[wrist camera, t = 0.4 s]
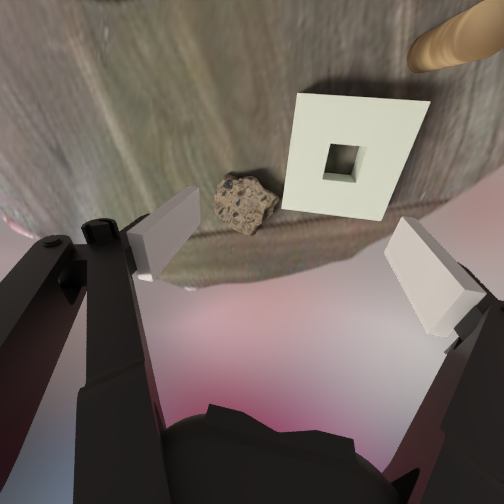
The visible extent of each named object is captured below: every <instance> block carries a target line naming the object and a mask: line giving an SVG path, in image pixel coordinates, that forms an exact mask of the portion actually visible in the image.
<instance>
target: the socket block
mask: <svg viewBox="0 0 504 504" xmlns="http://www.w3.org/2000/svg"><path fill="white" fill-rule="evenodd" d="M429 105H430V101H415V100H400V99H384V98H369V97H353V96H338V95H323V94H307V93H297V100H296V107H295V114H294V121H293V129H292V136H291V143H290V150H289V157H288V165H287V172H286V179H285V186H284V193H283V201H282V208H281V209H288V210H296V211H304V212H312V213H320V214H328V215H336V216H344V217H352V218H360V219H368V220H376V221H381V220H382V218H383V215H384V213H385V210H386V208H387V206H388V203H389V201H390V198H391V196H392V194H393V191H394V189H395V186H396V184H397V182H398V179H399V177H400V174H401V172H402V170H403V167H404V165H405V162H406V160H407V158H408V155H409V153H410V150H411V148H412V146H413V143H414V141H415V138H416V136H417V134H418V131H419V129H420V126H421V124H422V122H423V119H424V117H425V114H426V112H427V110H428V107H429ZM330 143H331V144H342V145H353V146H359V150H358V153H357V156H356V160H355V163H354V166H353V170H352V173H351V175H346V174H336V173H326V172H324V169H325V165H326V160H327V156H328V152H329V147H330Z"/></svg>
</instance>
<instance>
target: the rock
mask: <svg viewBox="0 0 504 504" xmlns="http://www.w3.org/2000/svg"><path fill="white" fill-rule="evenodd" d="M279 200H280V199H279V197H278V196H277V195H276V194H275V193H273V192H271V191H269V190H267V189H265V188H263V187H262V186H261V185H260V183H259V182H258V180H257V179H256V178H254V177H253V176H245V177H241V178H237V177H234V176H232V175H230V174H226V175H225V176H224V178H223V180H222V182H221V183H219V184H218V185H217V190H216V193H215V196H214V210H215V212H216V214H217V216H218V217H219V218H220V219H221V220H222V221H223V222H224V223H226V224H227V225H229V226H230V227H231V228H232V229H234V230H235V231H238V232H241V233H244V234H245V235H247V236H253V235H254V234H255V233H256V231H257V227H258V226H259V225H260V224H262V223H263V222H264V221H265V220H267V219H269V217H270V216H271V215H272V214H273V208H274V206H275V205H276V204H277V203H278V202H279Z"/></svg>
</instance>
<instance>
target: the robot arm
mask: <svg viewBox="0 0 504 504" xmlns="http://www.w3.org/2000/svg"><path fill="white" fill-rule="evenodd" d="M200 224H201V219H200V202H199V187H193V186H187V187H186V188H184V189H183V190H182V191H180V192H179V193H178V194H176V195H175V196H174V197H172V198H171V199H170V200H168V201H167V202H166V203H164V204H163V205H162V206H160V207H159V208H158V209H156V210H155V211H154V212H152V213H151V214H146V215H143V216H141V217H139V218H138V219H136V220H135V221H134V222H132V223H131V224H129V225H128V226H126V227H125V228H124V229H122V230H121V231H120V232H119V230H118V227H117V223H116V221H115V220H113V219H108V218H101V219H95V220H91V221H88V222H86V223H85V224H83V225H82V227H81V229H82V232H83V234H84V237H85V239H86V242H87V244H74V245H73V242H72V240H71V238H70V237H69V236H66V235H51V236H49V237H48V236H47V237H44V238H43V239H41V240H39V241H37V242H36V243H35V244H34V245H33V246H32V247H31V248H30V249H29V250H28V252H27V253H26V254H25V255H24V256H23V257H22V258H21V260H20V261H19V262H18V263H17V264H16V265H15V266H14V268H13V269H12V270H11V271H10V272H9V273H8V274H7V276H6V277H5V278H4V279H3V280H2V281H1V282H0V492H1V490H2V488H3V487H4V485H5V483H6V481H7V479H8V477H9V474H10V472H11V470H12V468H13V466H14V464H15V462H16V460H17V457H18V455H19V453H20V450H21V448H22V446H23V443H24V441H25V438H26V436H27V434H28V431H29V429H30V426H31V424H32V422H33V419H34V417H35V414H36V412H37V409H38V407H39V405H40V402H41V400H42V397H43V395H44V393H45V390H46V388H47V385H48V383H49V381H50V378H51V376H52V373H53V371H54V368H55V366H56V364H57V361H58V359H59V356H60V354H61V352H62V349H63V347H64V344H65V342H66V340H67V337H68V335H69V332H70V330H71V328H72V325H73V323H74V320H75V318H76V316H77V313H78V311H79V308H80V306H81V304H82V301H83V299H84V296H85V294H86V291H87V348H86V351H87V352H86V384H85V387H82V388H80V390H79V392H78V397H77V412H76V439H75V465H74V491H73V492H74V493H73V504H504V301H501V300H498V299H497V298H496V297H495V296H494V295H493V294H492V293H491V292H490V291H489V290H488V289H487V288H486V287H485V286H484V285H483V284H482V283H480V281H479V280H478V279H477V278H476V277H475V276H474V275H473V274H472V273H471V272H470V271H469V270H468V269H467V268H466V267H464V266H463V265H461V264H460V263H458V262H456V260H455V259H454V258H453V257H452V256H451V255H450V254H449V253H448V252H447V251H446V250H445V249H444V248H443V247H442V246H441V245H440V244H439V243H438V242H437V241H436V240H435V238H434V237H432V235H431V234H430V233H429V232H428V231H427V230H426V229H425V228H424V227H423V226H422V225H421V224H420V223H419V222H418V221H417V220H416V218H411V217H404V216H402V217H401V219H400V221H399V223H398V225H397V227H396V229H395V231H394V233H393V235H392V237H391V239H390V242H389V243H388V246H387V247H386V249H385V251H384V254H385V256H386V258H387V260H388V262H389V263H390V265H391V267H392V269H393V271H394V273H395V274H396V277H397V278H398V280H399V282H400V284H401V286H402V288H403V289H404V292H405V293H406V295H407V297H408V299H409V301H410V303H411V305H412V307H413V308H414V310H415V312H416V314H417V316H418V318H419V320H420V322H421V323H422V325H423V327H424V329H425V331H426V333H427V334H428V335H432V336H438V337H443V338H446V337H447V336H448V335H449V334H450V333H451V332H452V331H453V330H455V331H456V333H457V334H458V336H459V337H458V338H457V339H456V340H455V342H454V343H453V344H452V345H451V346H450V347H449V348H448V349H447V350H446V351H445V352H444V353H446V354H447V356H446V358H445V360H444V362H443V364H442V366H441V367H440V369H439V371H438V373H437V375H436V377H435V379H434V381H433V383H432V385H431V387H430V389H429V390H428V392H427V394H426V396H425V398H424V400H423V402H422V404H421V405H420V407H419V409H418V411H417V413H416V415H415V417H414V419H413V421H412V423H411V425H410V426H409V428H408V430H407V432H406V434H405V436H404V438H403V440H402V442H401V444H400V445H399V447H398V449H397V451H396V453H395V455H394V457H393V459H392V460H391V462H390V464H389V465H388V466H387V468H386V469H385V470H384V471H383V472H382V473H381V472H380V471H379V470H378V469H377V468H375V467H374V466H373V465H372V464H371V463H370V462H369V461H367V460H366V459H364V458H363V457H362V456H361V455H359V454H357V453H356V452H355V447H354V440H353V439H350V438H346V437H342V436H338V435H334V434H330V433H326V432H322V431H318V430H310V431H298V432H297V431H296V432H276V431H274V430H273V429H271V428H269V427H267V426H266V425H264V424H262V423H261V422H259V421H257V420H256V419H254V418H252V417H251V416H249V415H247V414H245V413H244V412H241V411H236V410H233V409H229V408H225V407H221V406H216V405H212V404H209V407H208V410H207V413H206V414H199V415H194V416H191V417H188V418H185V419H183V420H181V421H179V422H177V423H175V424H173V425H171V426H170V427H168V428H166V424H165V420H164V416H163V413H162V409H161V405H160V400H159V396H158V392H157V387H156V383H155V378H154V373H153V369H152V364H151V360H150V355H149V351H148V347H147V341H146V337H145V333H144V328H143V324H142V319H141V314H140V309H139V305H138V301H137V296H136V291H135V287H134V282H133V278H132V274H133V273H134V272H135V271H136V270H137V273H138V277H139V279H142V280H147V281H152V282H153V281H154V280H155V279H156V277H157V276H158V275H159V274H160V273H161V271H162V270H163V269H164V268H165V267H166V265H167V264H168V263H169V262H170V260H171V259H172V258H173V257H174V256H175V254H176V253H177V252H178V251H179V249H180V248H181V247H182V246H183V245H184V243H185V242H186V241H187V240H188V238H189V237H190V236H191V235H192V234H193V232H194V231H195V230H196V229H197V227H198V226H199V225H200Z"/></svg>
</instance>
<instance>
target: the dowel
mask: <svg viewBox="0 0 504 504" xmlns="http://www.w3.org/2000/svg"><path fill="white" fill-rule="evenodd" d="M503 47H504V0H484V1H482V2H480V3H478V4H477V5H475V6H473V7H471V8H469V9H468V10H466V11H464V12H462V13H460V14H459V15H457V16H455V17H453V18H451V19H450V20H448V21H446V22H444V23H442V24H440V25H439V26H437V27H435V28H433V29H431V30H430V31H428V32H426V33H424V34H422V35H421V36H420V37H418V38H417V39H416V40H415V42H414V43H413V44H412V46H411V48H410V50H409V52H408V56H407V64H408V67H409V69H410V70H411V71H412V72H414V73H424V72H428V71H432V70H437V69H441V68H445V67H450V66H454V65H458V64H463V63H467V62H471V61H476V60H480V59H484V58H487V57H489V56H491V55H493V54H495V53H497V52H498V51H499V50H501V49H502V48H503Z"/></svg>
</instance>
